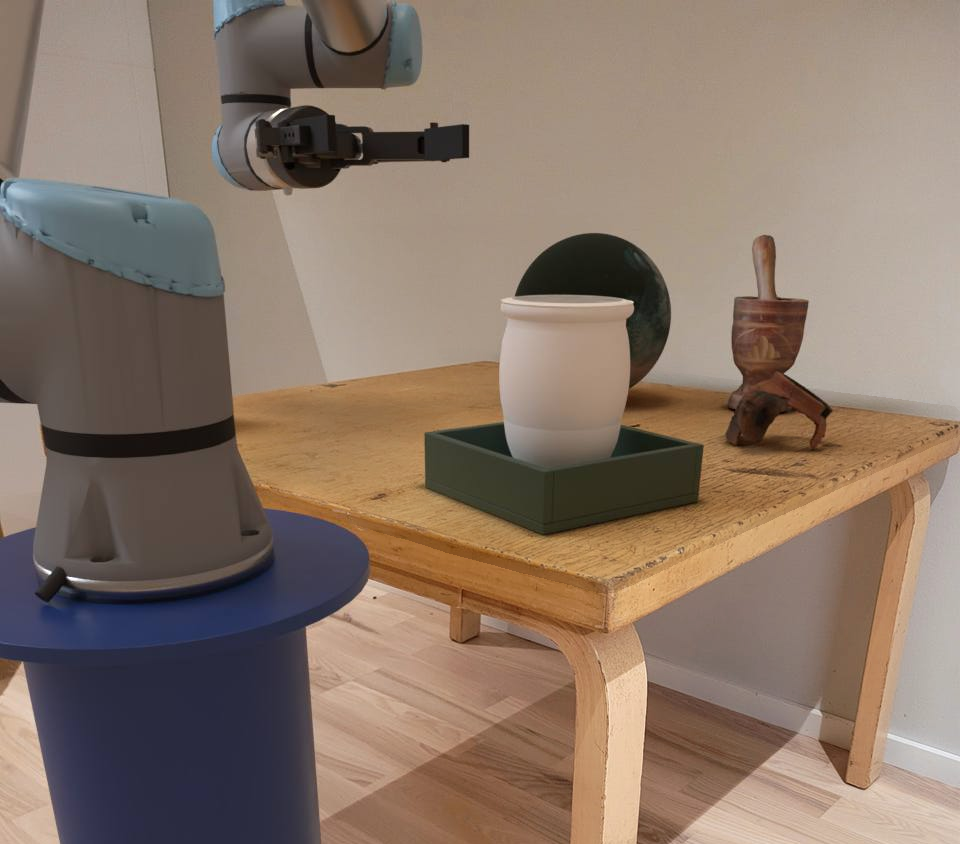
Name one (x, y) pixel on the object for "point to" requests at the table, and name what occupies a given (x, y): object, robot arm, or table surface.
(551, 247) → the decorative sphere
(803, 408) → the brown arched piece
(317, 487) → the table surface
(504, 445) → the bin
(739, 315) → the mortar and pestle
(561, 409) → the jar
